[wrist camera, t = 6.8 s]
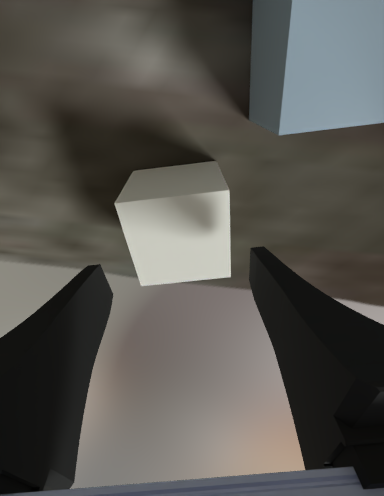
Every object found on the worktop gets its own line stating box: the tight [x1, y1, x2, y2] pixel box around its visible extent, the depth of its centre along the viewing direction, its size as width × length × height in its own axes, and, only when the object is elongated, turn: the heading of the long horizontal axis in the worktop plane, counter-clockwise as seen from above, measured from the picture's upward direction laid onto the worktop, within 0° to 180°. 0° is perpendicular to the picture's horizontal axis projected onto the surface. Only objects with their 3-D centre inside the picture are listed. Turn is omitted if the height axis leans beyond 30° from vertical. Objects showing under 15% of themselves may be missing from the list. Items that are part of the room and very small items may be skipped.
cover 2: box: [249, 0, 384, 135], centre depth 11 cm, size 6×6×6 cm
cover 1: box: [114, 161, 231, 286], centre depth 15 cm, size 6×6×6 cm
